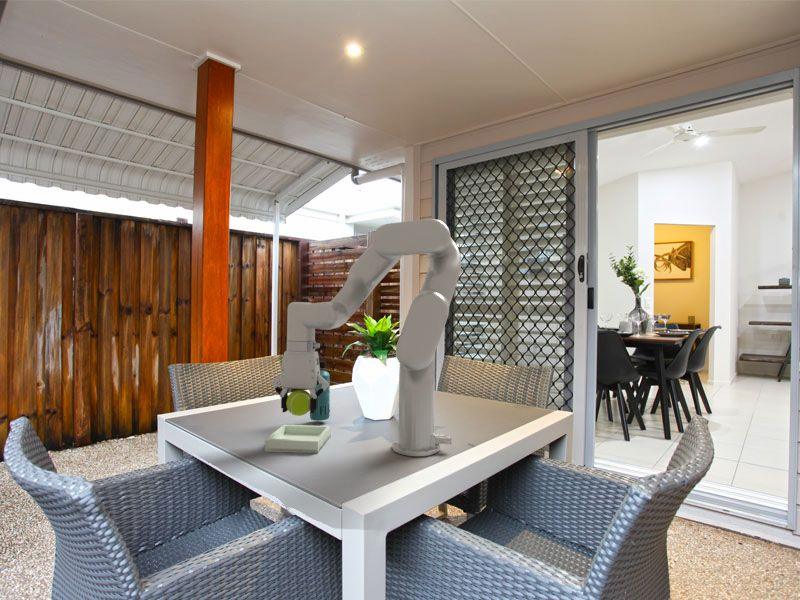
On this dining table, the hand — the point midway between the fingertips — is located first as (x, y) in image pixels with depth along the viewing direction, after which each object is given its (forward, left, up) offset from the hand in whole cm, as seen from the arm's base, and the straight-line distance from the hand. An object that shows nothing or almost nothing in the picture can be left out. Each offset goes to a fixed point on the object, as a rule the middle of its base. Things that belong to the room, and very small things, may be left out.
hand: (299, 411), depth 118 cm
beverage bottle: (0, -21, -9) cm, 23 cm away
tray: (0, 0, -9) cm, 9 cm away
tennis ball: (0, 0, -1) cm, 1 cm away
